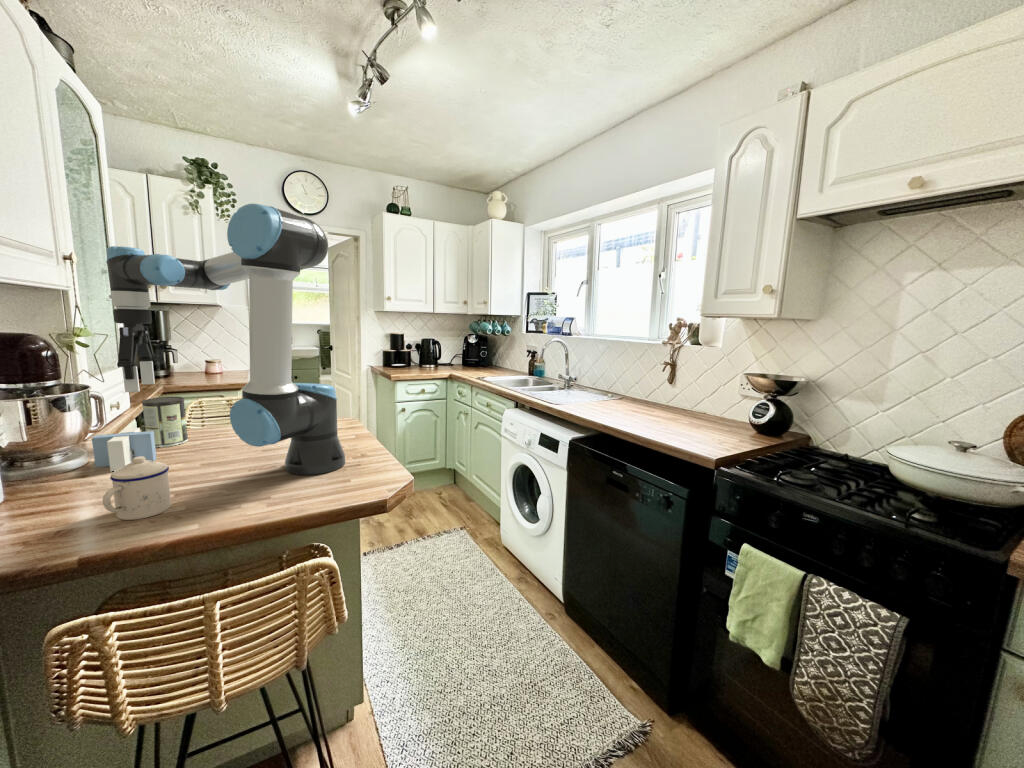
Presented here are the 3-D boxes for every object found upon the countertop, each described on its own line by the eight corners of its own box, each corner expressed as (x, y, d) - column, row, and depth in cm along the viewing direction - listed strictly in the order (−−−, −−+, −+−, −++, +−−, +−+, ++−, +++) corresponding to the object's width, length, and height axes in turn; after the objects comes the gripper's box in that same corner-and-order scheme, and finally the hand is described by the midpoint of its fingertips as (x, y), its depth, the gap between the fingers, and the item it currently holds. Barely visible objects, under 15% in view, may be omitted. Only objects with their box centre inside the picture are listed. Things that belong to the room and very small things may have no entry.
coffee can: (167, 437, 139) (163, 395, 137) (196, 439, 138) (192, 397, 136) (137, 446, 129) (132, 401, 127) (168, 448, 128) (163, 403, 126)
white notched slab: (125, 470, 110) (122, 440, 109) (110, 471, 109) (106, 441, 107) (142, 454, 122) (139, 427, 121) (129, 455, 121) (126, 428, 120)
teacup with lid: (145, 500, 93) (140, 449, 91) (183, 503, 92) (178, 451, 90) (86, 526, 81) (78, 468, 79) (129, 530, 80) (122, 471, 78)
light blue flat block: (153, 461, 117) (150, 433, 116) (95, 467, 111) (91, 438, 110) (156, 458, 119) (153, 430, 118) (100, 463, 114) (96, 435, 113)
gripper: (129, 308, 120) (137, 381, 124) (93, 307, 98) (104, 396, 102) (162, 309, 124) (170, 380, 127) (134, 308, 102) (144, 394, 105)
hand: (140, 387), depth 114 cm, fingers open, 13 cm apart
